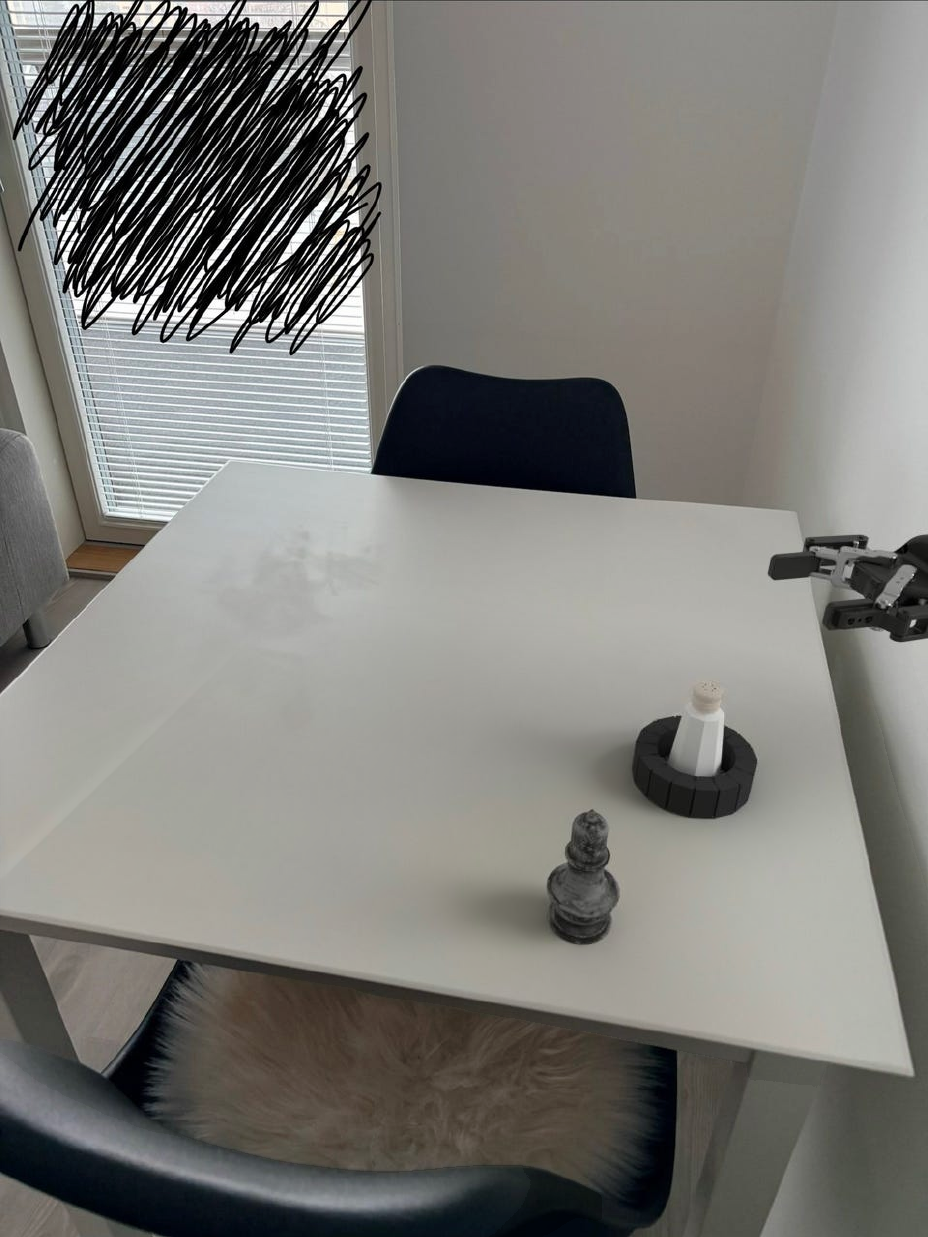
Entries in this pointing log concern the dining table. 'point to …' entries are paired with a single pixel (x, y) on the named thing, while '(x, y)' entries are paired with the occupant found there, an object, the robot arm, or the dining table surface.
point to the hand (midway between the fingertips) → (797, 591)
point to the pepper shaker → (700, 733)
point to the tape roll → (687, 790)
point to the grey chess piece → (583, 884)
